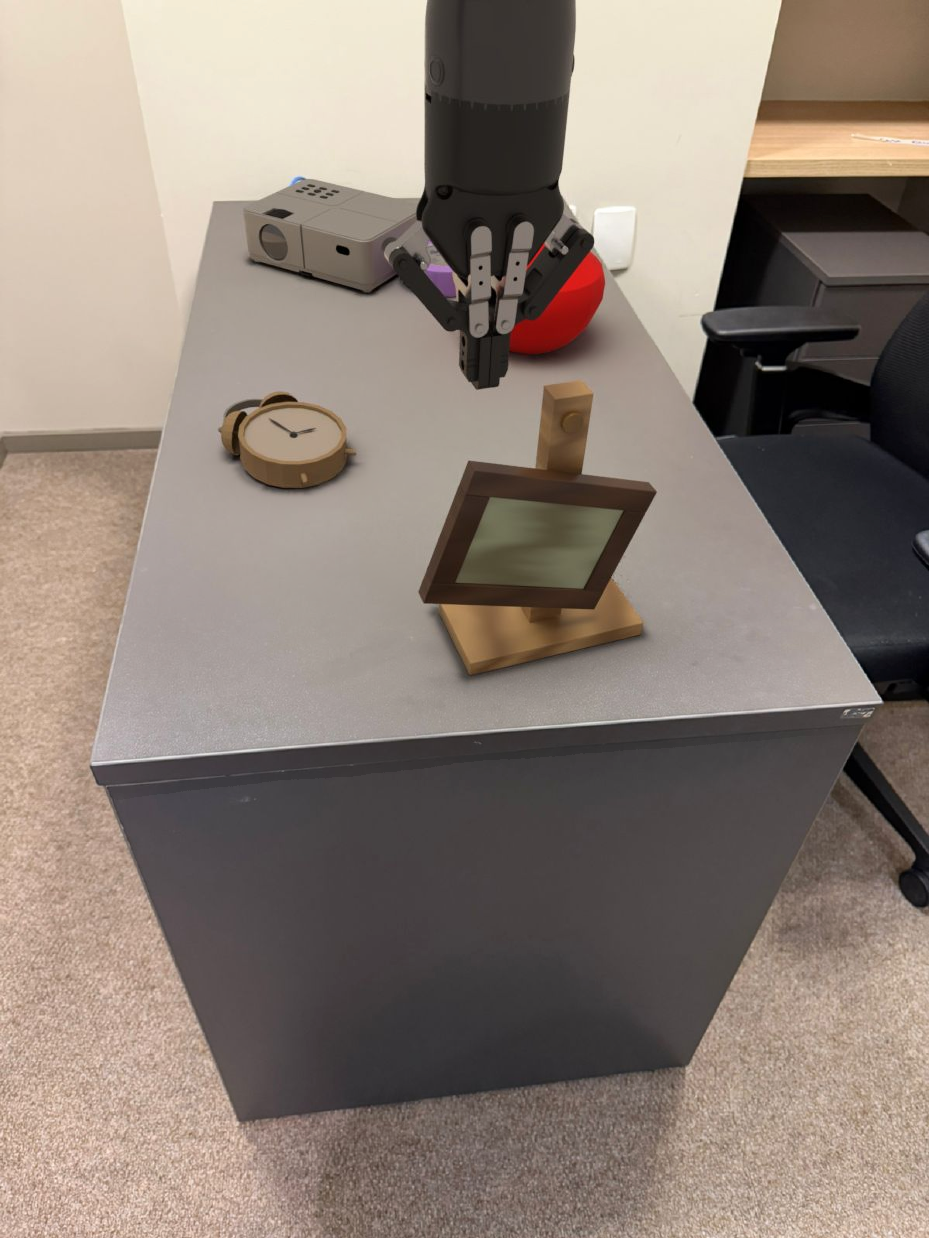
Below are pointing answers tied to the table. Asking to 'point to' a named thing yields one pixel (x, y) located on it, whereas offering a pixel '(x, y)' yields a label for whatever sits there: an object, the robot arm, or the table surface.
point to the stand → (544, 632)
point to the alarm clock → (286, 440)
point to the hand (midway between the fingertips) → (482, 382)
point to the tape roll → (440, 272)
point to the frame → (533, 537)
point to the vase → (563, 311)
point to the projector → (327, 232)
